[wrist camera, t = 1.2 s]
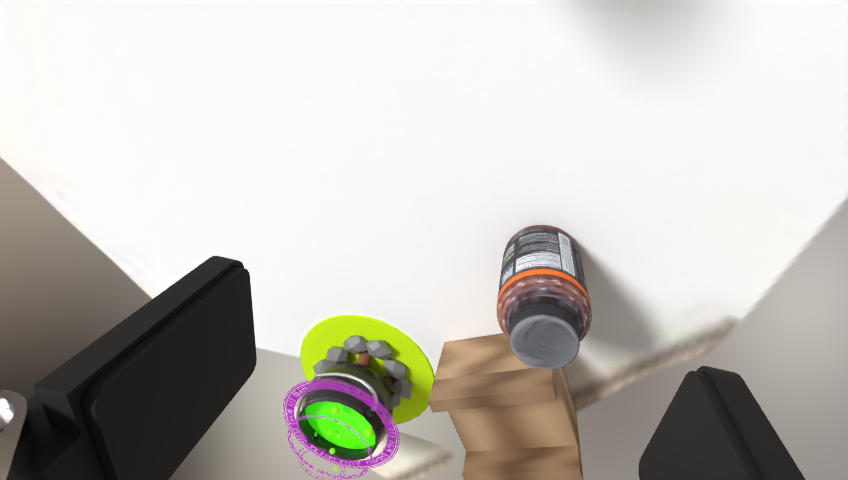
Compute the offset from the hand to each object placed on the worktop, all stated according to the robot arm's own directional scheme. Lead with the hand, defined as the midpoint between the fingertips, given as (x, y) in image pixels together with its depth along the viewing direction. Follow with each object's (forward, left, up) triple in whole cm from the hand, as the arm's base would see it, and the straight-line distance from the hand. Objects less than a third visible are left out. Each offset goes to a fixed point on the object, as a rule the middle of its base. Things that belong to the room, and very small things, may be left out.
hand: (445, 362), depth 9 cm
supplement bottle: (0, +11, -25) cm, 27 cm away
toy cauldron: (+21, +20, -25) cm, 39 cm away
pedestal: (+6, +23, -25) cm, 34 cm away
